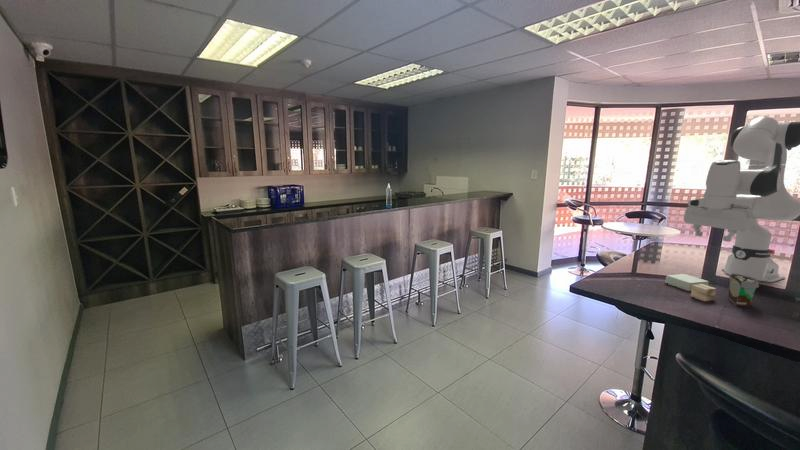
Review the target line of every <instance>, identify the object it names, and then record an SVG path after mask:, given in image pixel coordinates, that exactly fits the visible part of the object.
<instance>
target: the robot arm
mask: <svg viewBox="0 0 800 450" xmlns="http://www.w3.org/2000/svg"><path fill="white" fill-rule="evenodd" d="M729 141H730V147H731V148H732V149H733V151H734V153H735V154H736V155H737V156H738V157H741V158H743V159H746V160H749V165H748V167H747V168H742V169H741V162H740V161H739V160H737V159H736V160H735V159H721V160H720V159H719V160H716V161H714V162H712V163H711V165H710V166H709V169H708V172H707V174H706V175H707V176H706V180H705V187H706V189H705V192H704V194H703V197H701V198H695V199H690V200H688V201H687V205H688V206H687V207H686V208H685V211H684V216H683V222H684V223H685V224H691V225H693V226H692V227H693V229H694V233H695V235H694V236H695V237H703V233H704V232H703V231H701V228H702V226H703V227H708V228H709V227H710V228H716V229H722V230H723V229H724V230H727V233H728V234H727V235H724V236H722V237H723V239H722V241H723V242H732V237H734V236H735V240H734V244H733V245H732V248H731V253H730V254H728V256H727V259H726V263H725V266H724V267H721V271H723V272H724V273H725V274H726V275H729V276H730V275H731V273H734V274H740V275H745V276H749V277H752V278H755V279H757V280H758V282H760V281H761V282H765V283H774V282H777V281H780V280H783V279H786V276H785V275H784V274H780V273H779V270H780V268H779V267H780V266H779V264H778V263H777V262H775V261H774V260H773V259H772V258H771V254H775V253H776V250H775V249H771V248H770V244H771V240H772V233H771V231H770V230H769V229H767V228H766V227H763V226H761V225H760V224H759V222H758V220H766V221H774V222H777V221H781V222H782V221H783V222H784V221H793V220H795V219H797V218H799V216H800V200H799V199H797V198H796V197H794V196H793V195H792V194H791V193H790V192H789V191H788V190H787V188H786V186H785V181H784V179H785V172H786V171H785V170H786V164H787V157H788V152H787V151H791V150H792V149H793V148H796V147H798V146H800V121H791V122H786V121H785V122H783V121H778V120H776V119H775V118H773V117H770V116H769V117H768V116H760V117H757V118H754V119H752V120H750V121H749V122H747V124H746V125H744V126H740V127H737V128H736V129H734V130H733V131H732V134H731V135H730V139H729Z"/></svg>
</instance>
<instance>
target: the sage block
mask: <svg viewBox="0 0 800 450" xmlns="http://www.w3.org/2000/svg"><path fill="white" fill-rule="evenodd" d="M709 282H710V281H709V280H705V279H703V278H699V277H696V276H692V275H690V274H686V273H680V274H679V273H678V274H668V275H666V277H665V284H667V283H668V284H667V285H670V286H674V287H675V286H676V287H675V288H678V289H682V290H685V291H688V292H691V290H692V285H698V284H703V285H707V286H709Z"/></svg>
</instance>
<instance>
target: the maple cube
mask: <svg viewBox="0 0 800 450" xmlns="http://www.w3.org/2000/svg"><path fill="white" fill-rule="evenodd" d="M690 292H691V293H690V297H691V298H693V297H694V298H693V299H697V300H700V301H703V302H710V301H711V302H712V301H715V299H716V292H717V288H716V287H712V286H709V285H708V286H707V285H703V284H698V285H692V290H691V291H690Z"/></svg>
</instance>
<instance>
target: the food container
mask: <svg viewBox="0 0 800 450" xmlns="http://www.w3.org/2000/svg"><path fill="white" fill-rule="evenodd" d="M759 282H760V281H759V280H757V279H755V278H752V277H749V276H745V275H740V274H734V273H731V275H729V284H728V290H727V291H728V292H727V298H728V299H729V300H730V302H731V303H733V305H735V306H736V307H746V308H747V307H750V306H751V304H752V301H753V298H754V295H755V293H756V289H758V288H759V287H760V285H759V284H760V283H759Z"/></svg>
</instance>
